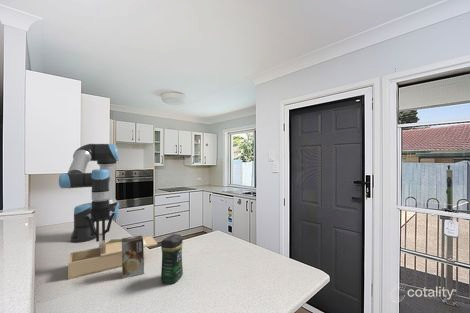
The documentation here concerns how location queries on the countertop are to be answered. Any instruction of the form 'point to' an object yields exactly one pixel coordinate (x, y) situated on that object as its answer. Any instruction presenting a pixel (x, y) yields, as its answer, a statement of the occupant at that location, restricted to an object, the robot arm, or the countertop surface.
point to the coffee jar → (171, 259)
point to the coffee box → (132, 256)
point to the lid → (117, 247)
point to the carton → (114, 241)
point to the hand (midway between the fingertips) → (100, 247)
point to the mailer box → (91, 262)
